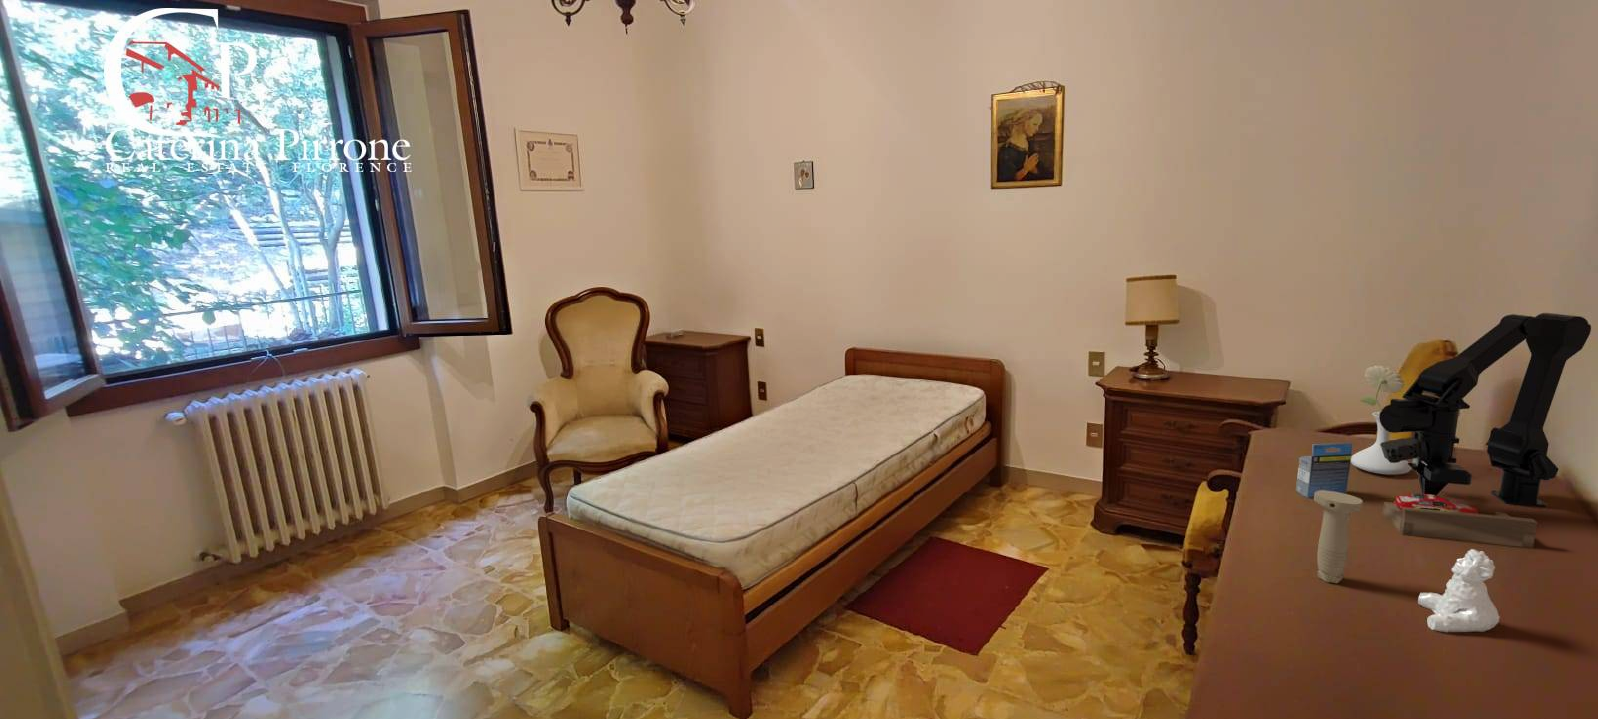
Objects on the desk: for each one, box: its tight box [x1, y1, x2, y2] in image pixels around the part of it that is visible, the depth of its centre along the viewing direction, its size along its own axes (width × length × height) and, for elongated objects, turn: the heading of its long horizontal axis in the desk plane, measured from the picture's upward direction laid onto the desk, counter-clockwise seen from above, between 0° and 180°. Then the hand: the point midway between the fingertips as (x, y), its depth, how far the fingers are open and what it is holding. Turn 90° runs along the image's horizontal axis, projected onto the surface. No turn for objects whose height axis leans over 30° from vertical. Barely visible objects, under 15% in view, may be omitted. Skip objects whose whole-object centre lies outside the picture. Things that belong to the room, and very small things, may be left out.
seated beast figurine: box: [1417, 548, 1501, 634], centre depth 106 cm, size 10×9×12 cm
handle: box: [1313, 490, 1363, 584], centre depth 119 cm, size 5×6×15 cm
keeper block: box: [1382, 501, 1538, 549], centre depth 136 cm, size 10×19×5 cm, turn 67°
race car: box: [1393, 493, 1480, 514], centre depth 144 cm, size 13×5×4 cm, turn 65°
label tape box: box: [1295, 442, 1353, 499], centre depth 155 cm, size 9×4×12 cm, turn 92°
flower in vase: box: [1350, 365, 1412, 476], centre depth 166 cm, size 13×11×25 cm
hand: (1426, 501), depth 147 cm, fingers closed
